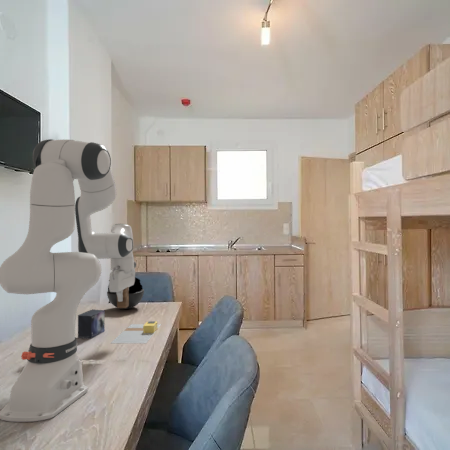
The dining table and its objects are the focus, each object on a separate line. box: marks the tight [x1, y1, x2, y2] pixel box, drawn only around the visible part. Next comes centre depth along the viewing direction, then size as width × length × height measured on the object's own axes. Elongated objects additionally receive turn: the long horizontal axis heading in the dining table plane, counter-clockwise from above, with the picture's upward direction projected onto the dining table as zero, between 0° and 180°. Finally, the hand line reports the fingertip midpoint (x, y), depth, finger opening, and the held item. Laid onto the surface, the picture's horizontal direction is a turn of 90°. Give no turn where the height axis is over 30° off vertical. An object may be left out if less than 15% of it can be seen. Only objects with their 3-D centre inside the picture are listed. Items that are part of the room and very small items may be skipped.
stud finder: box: [143, 320, 158, 334], centre depth 152 cm, size 7×4×3 cm, turn 179°
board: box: [110, 323, 162, 344], centre depth 148 cm, size 26×14×1 cm, turn 177°
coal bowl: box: [106, 276, 145, 310], centre depth 197 cm, size 20×20×19 cm
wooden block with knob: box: [116, 287, 129, 309], centre depth 139 cm, size 4×4×10 cm
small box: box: [77, 309, 106, 340], centre depth 147 cm, size 11×6×10 cm, turn 168°
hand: (122, 300), depth 139 cm, fingers closed on wooden block with knob, 3 cm apart
